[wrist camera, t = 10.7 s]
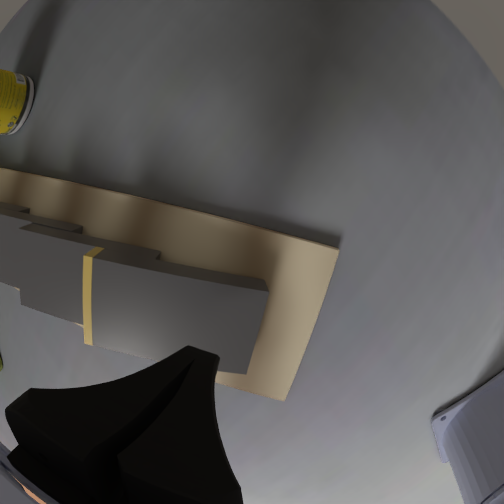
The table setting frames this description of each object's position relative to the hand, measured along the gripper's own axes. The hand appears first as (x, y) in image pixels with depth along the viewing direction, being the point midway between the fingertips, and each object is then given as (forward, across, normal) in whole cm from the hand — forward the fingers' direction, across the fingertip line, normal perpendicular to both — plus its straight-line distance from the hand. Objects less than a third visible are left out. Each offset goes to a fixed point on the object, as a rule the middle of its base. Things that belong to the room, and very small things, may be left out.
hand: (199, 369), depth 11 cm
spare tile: (+5, -2, 0) cm, 5 cm away
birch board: (+6, +12, 0) cm, 14 cm away
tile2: (+5, +4, 0) cm, 6 cm away
